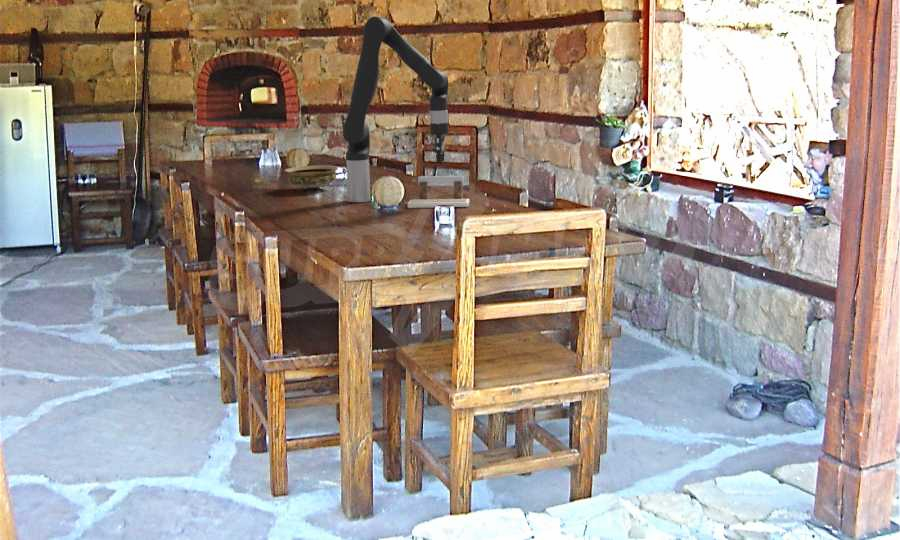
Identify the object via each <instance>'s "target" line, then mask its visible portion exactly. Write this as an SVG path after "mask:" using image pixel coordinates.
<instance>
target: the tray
mask: <svg viewBox="0 0 900 540" xmlns="http://www.w3.org/2000/svg"><path fill="white" fill-rule="evenodd" d="M469 203H471V202H470V198H463V199H454V198H429V199H420V198H417V199H410V200H409V201H408V202H407V209H435V208H434V207H435V206H438V205H453V206H455V207H468V208H469V206H468V205H470V204H469Z"/></svg>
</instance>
